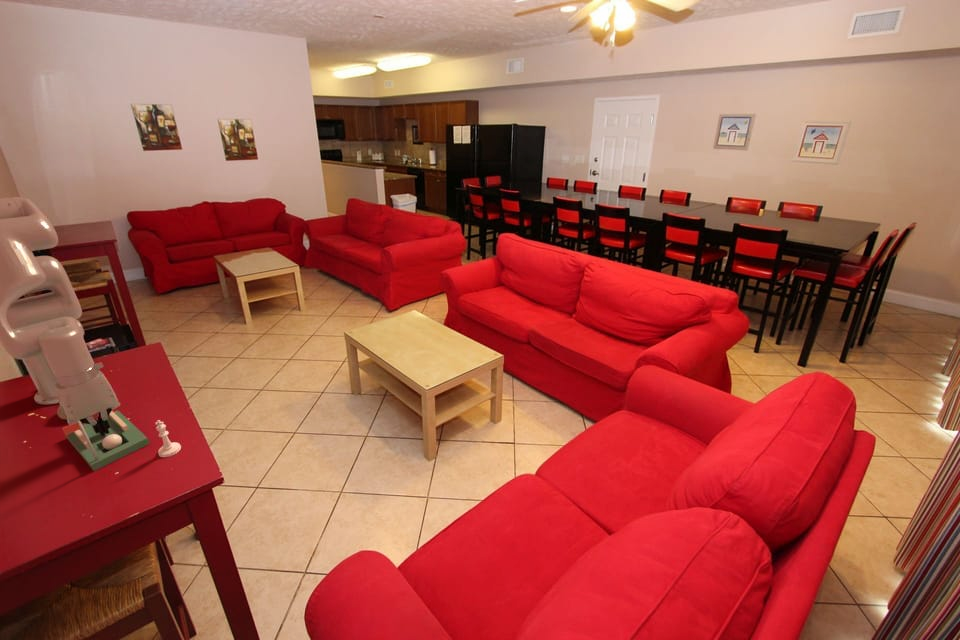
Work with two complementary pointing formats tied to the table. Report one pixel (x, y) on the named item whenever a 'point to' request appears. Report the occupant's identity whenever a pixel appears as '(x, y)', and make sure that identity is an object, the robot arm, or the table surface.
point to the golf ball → (112, 441)
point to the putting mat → (92, 442)
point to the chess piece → (166, 442)
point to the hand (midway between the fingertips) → (103, 432)
